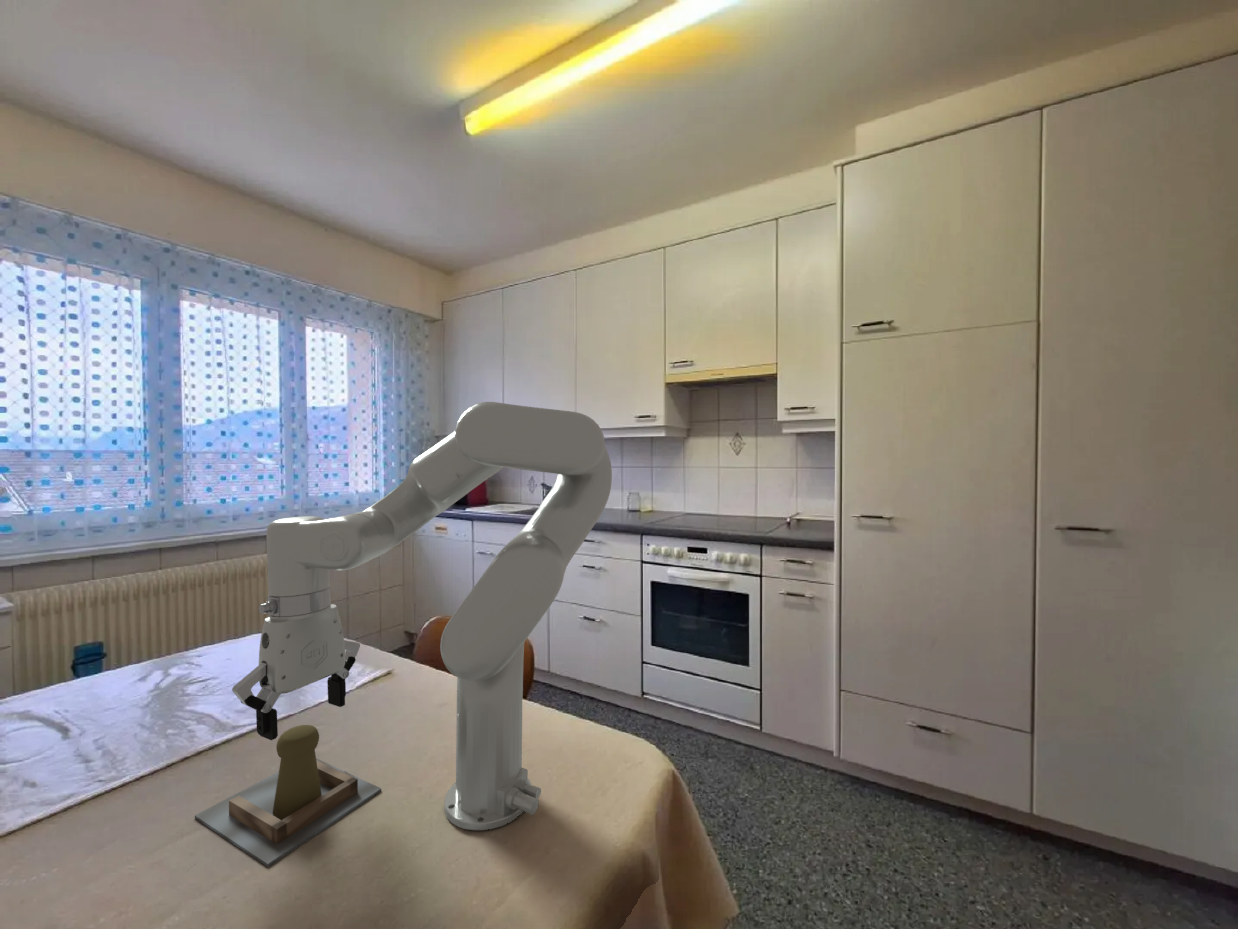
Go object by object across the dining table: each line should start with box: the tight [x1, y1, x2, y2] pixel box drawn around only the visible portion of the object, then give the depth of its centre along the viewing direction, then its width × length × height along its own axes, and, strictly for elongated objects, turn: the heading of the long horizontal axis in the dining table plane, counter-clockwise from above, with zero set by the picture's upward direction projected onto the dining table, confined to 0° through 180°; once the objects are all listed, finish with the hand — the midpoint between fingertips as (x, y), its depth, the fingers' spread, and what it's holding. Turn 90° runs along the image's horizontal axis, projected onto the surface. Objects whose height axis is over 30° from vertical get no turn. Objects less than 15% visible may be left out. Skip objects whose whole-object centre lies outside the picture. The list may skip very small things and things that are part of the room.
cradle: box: [194, 758, 382, 868], centre depth 73 cm, size 18×16×2 cm
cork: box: [272, 724, 322, 820], centre depth 72 cm, size 6×6×11 cm
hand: (304, 720), depth 72 cm, fingers open, 9 cm apart
